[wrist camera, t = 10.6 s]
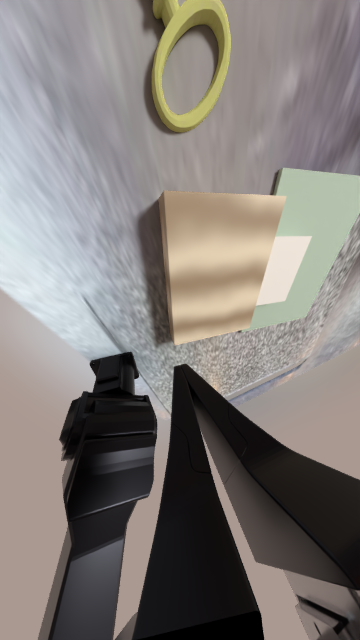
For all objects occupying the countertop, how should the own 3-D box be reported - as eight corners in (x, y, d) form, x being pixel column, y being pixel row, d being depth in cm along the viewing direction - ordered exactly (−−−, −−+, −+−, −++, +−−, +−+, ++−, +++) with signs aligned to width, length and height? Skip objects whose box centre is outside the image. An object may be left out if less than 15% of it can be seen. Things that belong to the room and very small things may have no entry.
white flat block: (275, 297, 26) (285, 301, 25) (244, 301, 25) (253, 306, 23) (298, 236, 21) (312, 236, 20) (261, 236, 19) (273, 236, 18)
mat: (303, 316, 33) (305, 317, 33) (239, 331, 29) (241, 332, 29) (372, 179, 21) (377, 177, 20) (279, 169, 16) (283, 167, 16)
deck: (238, 319, 27) (249, 328, 25) (170, 334, 24) (174, 345, 21) (265, 201, 18) (286, 196, 15) (158, 198, 14) (163, 190, 12)
